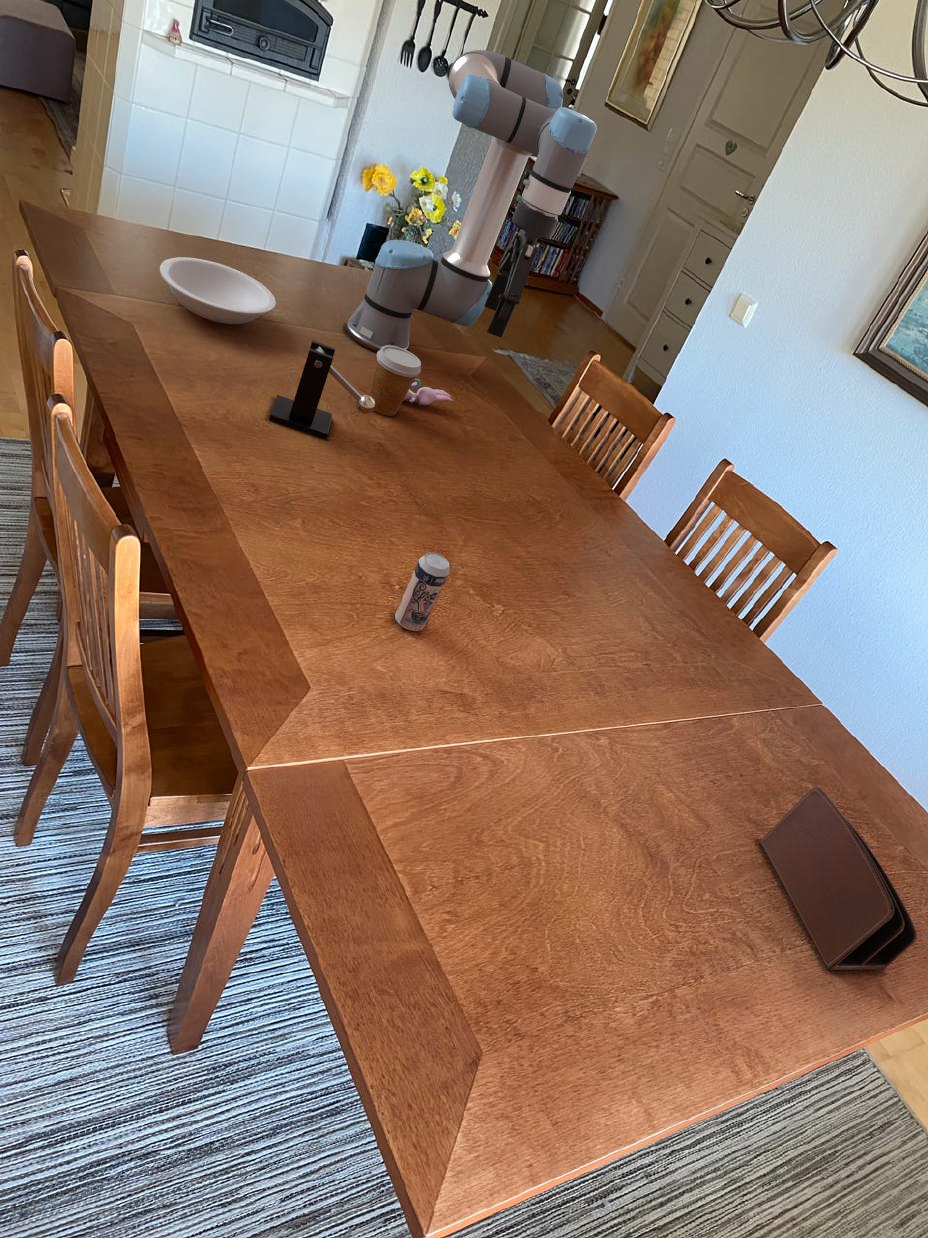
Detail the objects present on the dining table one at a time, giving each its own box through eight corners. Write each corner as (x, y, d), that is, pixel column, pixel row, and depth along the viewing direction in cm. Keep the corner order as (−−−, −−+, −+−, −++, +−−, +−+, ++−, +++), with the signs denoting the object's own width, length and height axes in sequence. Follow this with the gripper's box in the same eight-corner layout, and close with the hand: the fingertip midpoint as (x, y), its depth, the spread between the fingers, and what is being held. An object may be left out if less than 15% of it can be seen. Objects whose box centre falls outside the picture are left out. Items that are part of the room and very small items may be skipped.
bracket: (330, 418, 181) (353, 350, 173) (326, 439, 174) (349, 369, 166) (275, 399, 178) (296, 329, 170) (268, 420, 171) (289, 347, 163)
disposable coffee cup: (406, 407, 198) (426, 357, 191) (399, 425, 190) (419, 373, 184) (365, 390, 197) (383, 339, 190) (356, 407, 189) (374, 354, 182)
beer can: (401, 633, 137) (429, 571, 131) (389, 612, 140) (416, 550, 133) (428, 632, 140) (457, 571, 133) (416, 612, 143) (444, 551, 136)
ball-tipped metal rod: (366, 412, 177) (379, 401, 176) (364, 421, 175) (378, 409, 173) (308, 354, 170) (322, 342, 169) (306, 362, 167) (320, 349, 166)
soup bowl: (284, 323, 208) (292, 296, 204) (240, 353, 188) (247, 323, 184) (187, 276, 207) (193, 248, 203) (132, 301, 187) (137, 270, 183)
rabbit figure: (388, 409, 197) (454, 413, 203) (393, 384, 194) (460, 388, 199) (382, 395, 202) (446, 398, 207) (386, 370, 198) (452, 374, 203)
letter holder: (827, 971, 117) (897, 908, 109) (757, 842, 132) (815, 778, 124) (883, 971, 121) (955, 910, 113) (810, 845, 136) (869, 783, 128)
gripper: (515, 182, 169) (471, 291, 181) (525, 218, 149) (475, 338, 161) (552, 198, 171) (507, 305, 183) (567, 236, 151) (515, 353, 163)
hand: (492, 321), depth 172 cm, fingers open, 13 cm apart
